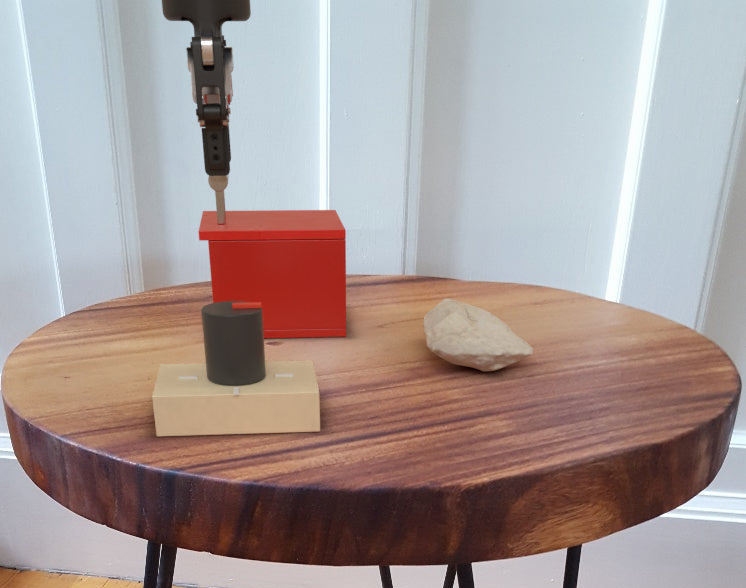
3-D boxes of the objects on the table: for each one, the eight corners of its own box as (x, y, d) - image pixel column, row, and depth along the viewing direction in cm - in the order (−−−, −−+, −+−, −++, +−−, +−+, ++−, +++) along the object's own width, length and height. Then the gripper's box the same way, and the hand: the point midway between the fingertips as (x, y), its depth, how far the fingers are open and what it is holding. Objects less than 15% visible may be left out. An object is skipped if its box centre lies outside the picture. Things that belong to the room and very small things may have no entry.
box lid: (199, 240, 87) (193, 174, 84) (203, 219, 97) (198, 159, 94) (345, 239, 88) (345, 173, 85) (335, 218, 98) (334, 159, 95)
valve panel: (156, 438, 70) (151, 395, 68) (164, 400, 77) (159, 360, 75) (320, 433, 71) (319, 390, 69) (313, 396, 78) (312, 357, 76)
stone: (433, 382, 81) (436, 321, 79) (409, 339, 92) (410, 285, 90) (539, 378, 82) (545, 318, 80) (502, 337, 93) (506, 283, 91)
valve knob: (206, 386, 70) (199, 311, 67) (208, 368, 74) (201, 297, 71) (266, 384, 70) (262, 310, 68) (265, 367, 74) (261, 296, 71)
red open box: (216, 339, 92) (208, 241, 87) (218, 310, 101) (211, 220, 97) (346, 336, 93) (345, 239, 88) (336, 308, 103) (335, 219, 98)
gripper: (162, -43, 86) (182, 160, 95) (150, -54, 74) (173, 180, 83) (247, -42, 86) (258, 160, 95) (247, -52, 75) (260, 179, 84)
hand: (219, 169), depth 89 cm, fingers open, 8 cm apart
